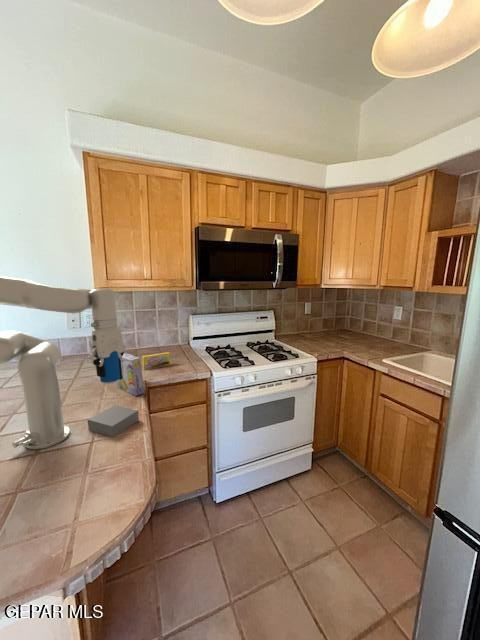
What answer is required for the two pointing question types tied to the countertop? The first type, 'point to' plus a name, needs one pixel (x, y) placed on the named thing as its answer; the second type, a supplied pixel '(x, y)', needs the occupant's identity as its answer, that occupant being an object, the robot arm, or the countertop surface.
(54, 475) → the countertop surface
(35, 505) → the countertop surface
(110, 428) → the block
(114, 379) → the beverage can
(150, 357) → the candy box
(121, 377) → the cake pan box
